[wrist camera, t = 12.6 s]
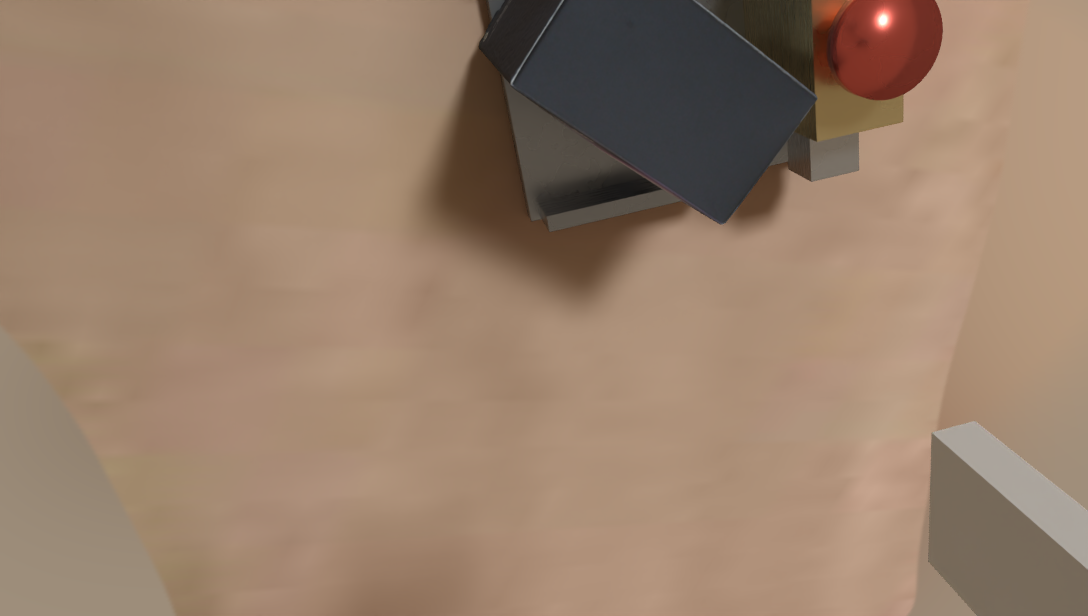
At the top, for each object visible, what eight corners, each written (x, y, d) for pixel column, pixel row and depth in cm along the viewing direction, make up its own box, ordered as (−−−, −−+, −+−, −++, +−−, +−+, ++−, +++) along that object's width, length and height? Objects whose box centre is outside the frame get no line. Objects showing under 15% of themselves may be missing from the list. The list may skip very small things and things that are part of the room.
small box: (469, 53, 38) (499, 89, 29) (546, -76, 37) (604, -83, 27) (645, 170, 42) (723, 235, 33) (722, 58, 41) (827, 92, 31)
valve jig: (528, 215, 43) (570, 289, 34) (470, -78, 37) (501, -86, 28) (821, 147, 44) (937, 200, 35) (810, -145, 39) (948, -174, 29)
